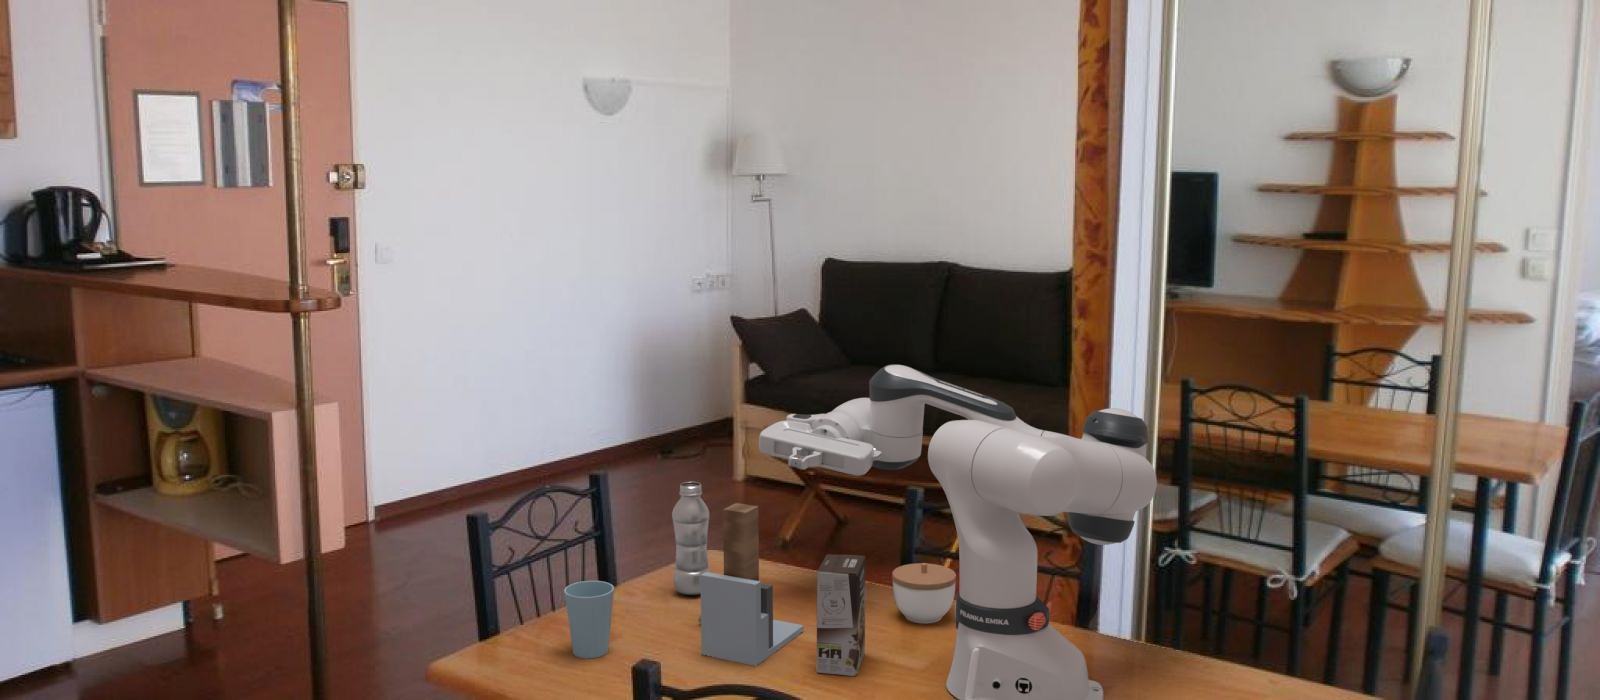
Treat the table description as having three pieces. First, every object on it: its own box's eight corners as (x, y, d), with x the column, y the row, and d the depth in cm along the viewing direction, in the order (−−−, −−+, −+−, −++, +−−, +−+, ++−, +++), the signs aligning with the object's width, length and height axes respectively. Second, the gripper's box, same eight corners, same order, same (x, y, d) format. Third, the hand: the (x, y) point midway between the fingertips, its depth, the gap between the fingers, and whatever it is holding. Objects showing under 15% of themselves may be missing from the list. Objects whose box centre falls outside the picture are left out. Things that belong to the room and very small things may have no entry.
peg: (759, 640, 198) (758, 506, 195) (746, 649, 195) (745, 512, 191) (737, 636, 200) (736, 503, 197) (724, 645, 196) (723, 509, 193)
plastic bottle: (710, 599, 220) (709, 489, 217) (671, 599, 220) (669, 489, 217) (712, 586, 227) (711, 479, 224) (674, 587, 227) (673, 479, 224)
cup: (622, 644, 200) (620, 581, 199) (605, 663, 193) (603, 598, 191) (577, 640, 202) (575, 578, 200) (559, 659, 194) (556, 595, 193)
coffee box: (857, 677, 188) (858, 573, 185) (815, 673, 189) (815, 570, 186) (866, 653, 197) (867, 554, 194) (826, 650, 198) (826, 552, 195)
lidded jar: (918, 601, 220) (919, 549, 218) (968, 616, 212) (969, 563, 211) (878, 617, 212) (879, 564, 210) (928, 634, 205) (929, 579, 203)
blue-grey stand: (803, 631, 206) (803, 555, 204) (756, 666, 192) (755, 584, 190) (751, 621, 210) (751, 546, 208) (701, 654, 196) (700, 574, 194)
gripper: (884, 469, 217) (851, 495, 205) (780, 444, 226) (742, 468, 214) (887, 434, 216) (853, 459, 204) (782, 411, 224) (744, 433, 212)
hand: (795, 463), depth 209 cm, fingers closed
